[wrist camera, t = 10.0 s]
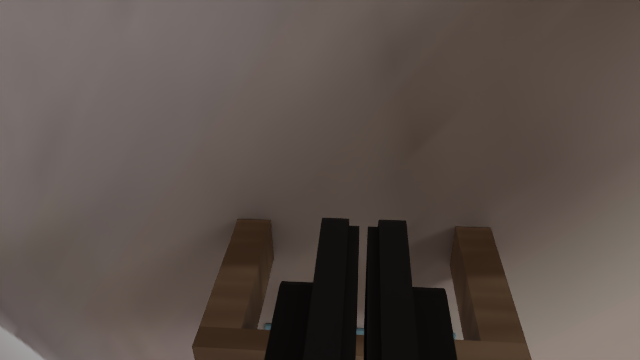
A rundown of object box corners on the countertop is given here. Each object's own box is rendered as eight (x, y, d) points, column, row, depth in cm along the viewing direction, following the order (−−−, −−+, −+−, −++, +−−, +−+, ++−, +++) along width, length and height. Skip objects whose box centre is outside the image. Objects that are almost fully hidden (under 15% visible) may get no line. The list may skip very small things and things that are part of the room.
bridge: (237, 218, 32) (192, 346, 24) (490, 227, 31) (533, 365, 23) (242, 257, 34) (201, 388, 25) (483, 266, 32) (520, 408, 24)
